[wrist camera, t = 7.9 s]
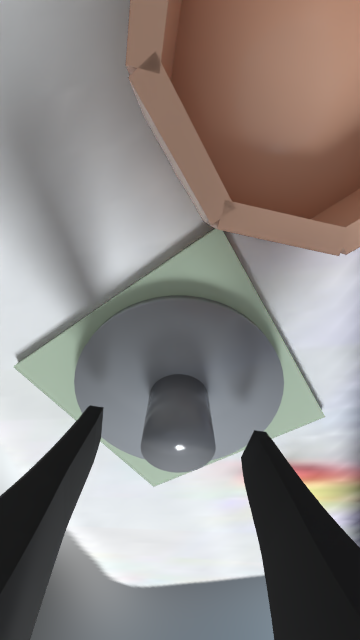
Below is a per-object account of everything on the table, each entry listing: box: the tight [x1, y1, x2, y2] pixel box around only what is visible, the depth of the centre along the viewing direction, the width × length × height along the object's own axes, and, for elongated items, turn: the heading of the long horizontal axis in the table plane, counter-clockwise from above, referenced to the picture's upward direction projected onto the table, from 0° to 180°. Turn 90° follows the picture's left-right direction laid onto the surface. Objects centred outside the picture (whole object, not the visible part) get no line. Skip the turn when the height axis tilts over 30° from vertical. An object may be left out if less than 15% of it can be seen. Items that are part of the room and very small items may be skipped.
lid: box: [74, 295, 284, 473], centre depth 12 cm, size 11×11×4 cm
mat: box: [14, 228, 325, 487], centre depth 14 cm, size 13×13×1 cm
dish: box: [126, 0, 360, 256], centre depth 7 cm, size 10×10×3 cm
